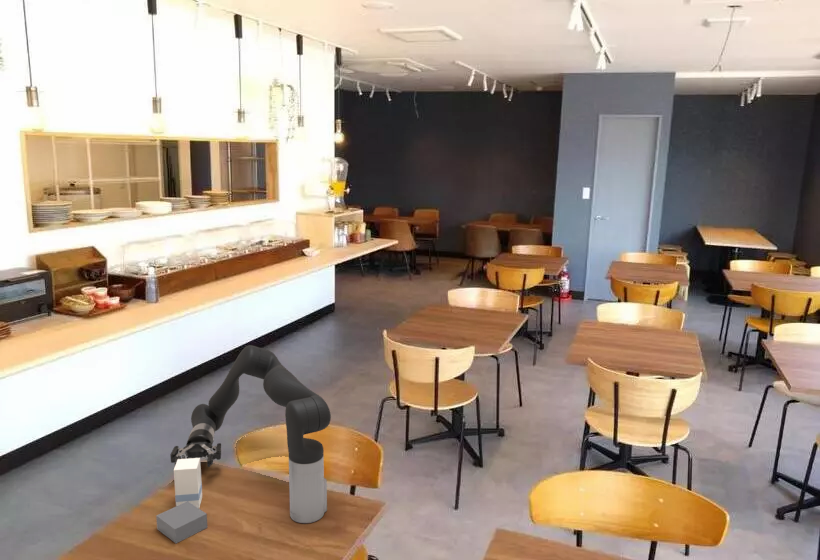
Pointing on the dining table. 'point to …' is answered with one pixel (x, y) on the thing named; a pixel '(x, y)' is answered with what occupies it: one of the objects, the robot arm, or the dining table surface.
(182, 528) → the block
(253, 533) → the dining table surface
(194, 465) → the milk carton
